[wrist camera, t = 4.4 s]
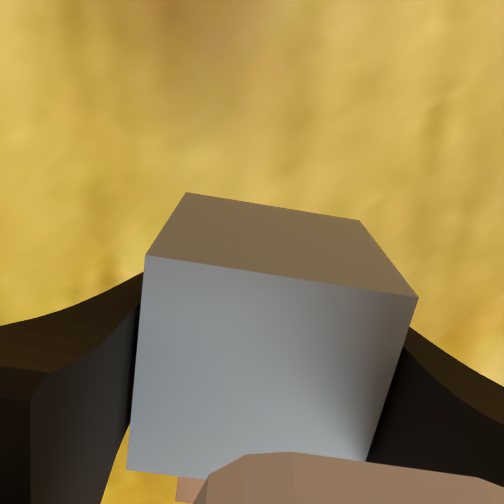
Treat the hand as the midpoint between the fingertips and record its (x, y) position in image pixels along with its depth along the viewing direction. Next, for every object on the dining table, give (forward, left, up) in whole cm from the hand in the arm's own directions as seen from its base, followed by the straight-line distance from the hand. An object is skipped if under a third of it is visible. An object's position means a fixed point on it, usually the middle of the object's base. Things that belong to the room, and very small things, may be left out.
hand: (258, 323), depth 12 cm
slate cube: (0, 0, -2) cm, 2 cm away
